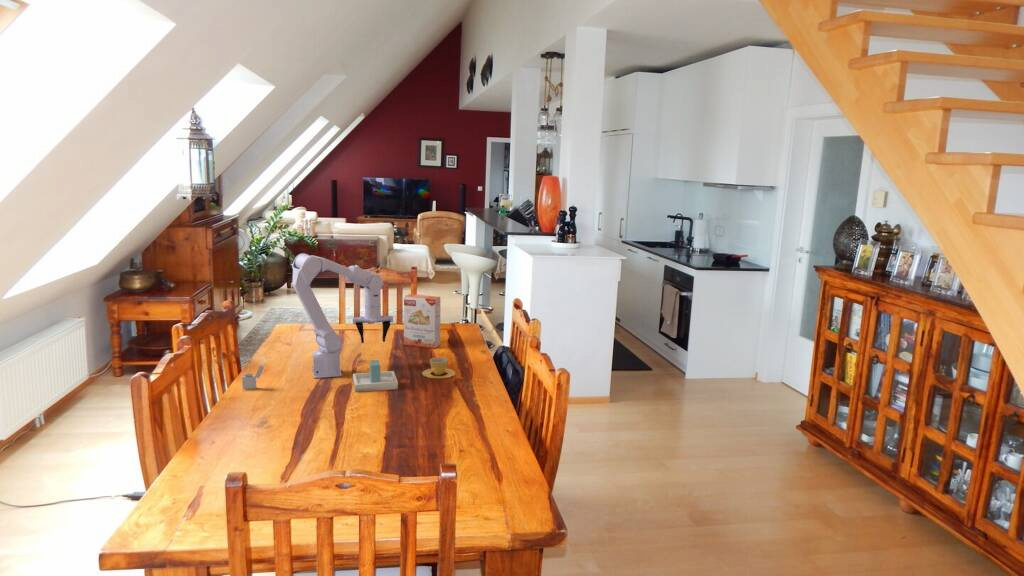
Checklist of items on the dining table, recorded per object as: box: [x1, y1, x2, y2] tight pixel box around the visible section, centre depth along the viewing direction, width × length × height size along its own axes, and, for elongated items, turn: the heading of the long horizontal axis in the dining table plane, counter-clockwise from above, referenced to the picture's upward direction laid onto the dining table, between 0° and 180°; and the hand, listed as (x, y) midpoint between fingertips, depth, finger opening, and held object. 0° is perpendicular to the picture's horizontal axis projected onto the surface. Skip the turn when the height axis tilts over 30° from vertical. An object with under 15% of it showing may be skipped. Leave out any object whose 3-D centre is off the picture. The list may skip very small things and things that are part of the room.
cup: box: [421, 356, 456, 379], centre depth 252 cm, size 12×12×5 cm
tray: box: [352, 370, 399, 393], centre depth 238 cm, size 14×12×2 cm
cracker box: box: [403, 293, 441, 350], centre depth 285 cm, size 14×6×21 cm, turn 73°
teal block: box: [369, 359, 381, 383], centre depth 237 cm, size 6×3×7 cm, turn 17°
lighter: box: [241, 364, 266, 390], centre depth 231 cm, size 7×2×8 cm, turn 99°
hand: (373, 341), depth 257 cm, fingers open, 7 cm apart
